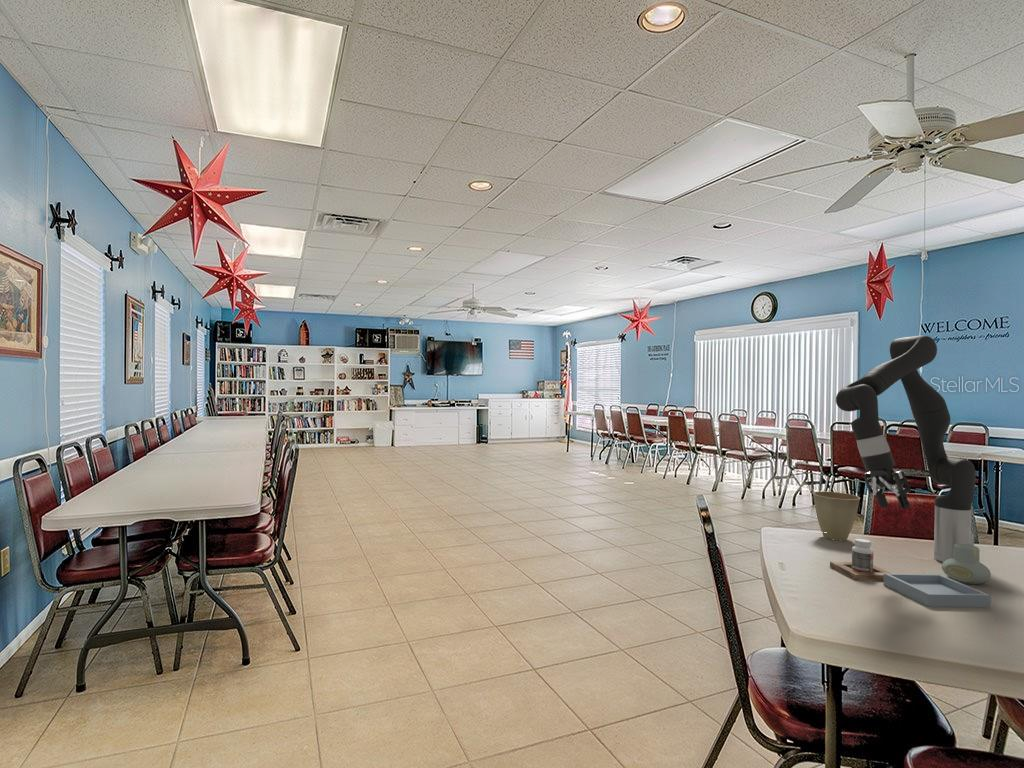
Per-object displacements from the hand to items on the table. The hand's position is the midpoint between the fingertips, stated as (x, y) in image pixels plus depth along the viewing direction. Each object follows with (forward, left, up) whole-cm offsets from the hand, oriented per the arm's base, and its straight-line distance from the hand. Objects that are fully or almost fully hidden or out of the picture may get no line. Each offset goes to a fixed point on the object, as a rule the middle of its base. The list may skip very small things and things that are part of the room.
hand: (894, 507), depth 159 cm
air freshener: (-22, 0, -21) cm, 30 cm away
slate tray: (-3, +12, -21) cm, 24 cm away
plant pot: (-12, -45, -21) cm, 51 cm away
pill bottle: (+5, -5, -21) cm, 22 cm away
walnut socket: (+5, -5, -21) cm, 22 cm away
